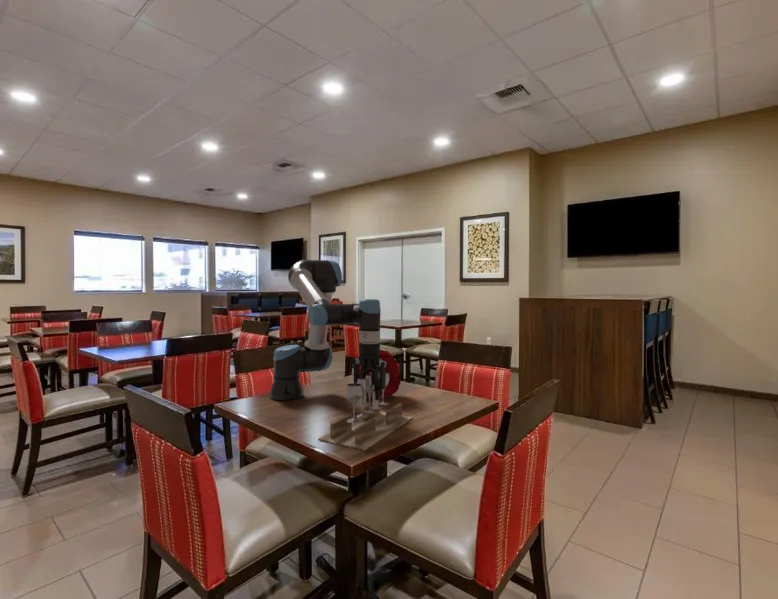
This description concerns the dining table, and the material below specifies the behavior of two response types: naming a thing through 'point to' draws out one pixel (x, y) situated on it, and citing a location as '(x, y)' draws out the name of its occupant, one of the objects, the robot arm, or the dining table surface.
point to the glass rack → (365, 428)
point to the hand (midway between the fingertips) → (369, 407)
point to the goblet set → (359, 390)
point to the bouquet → (393, 371)
